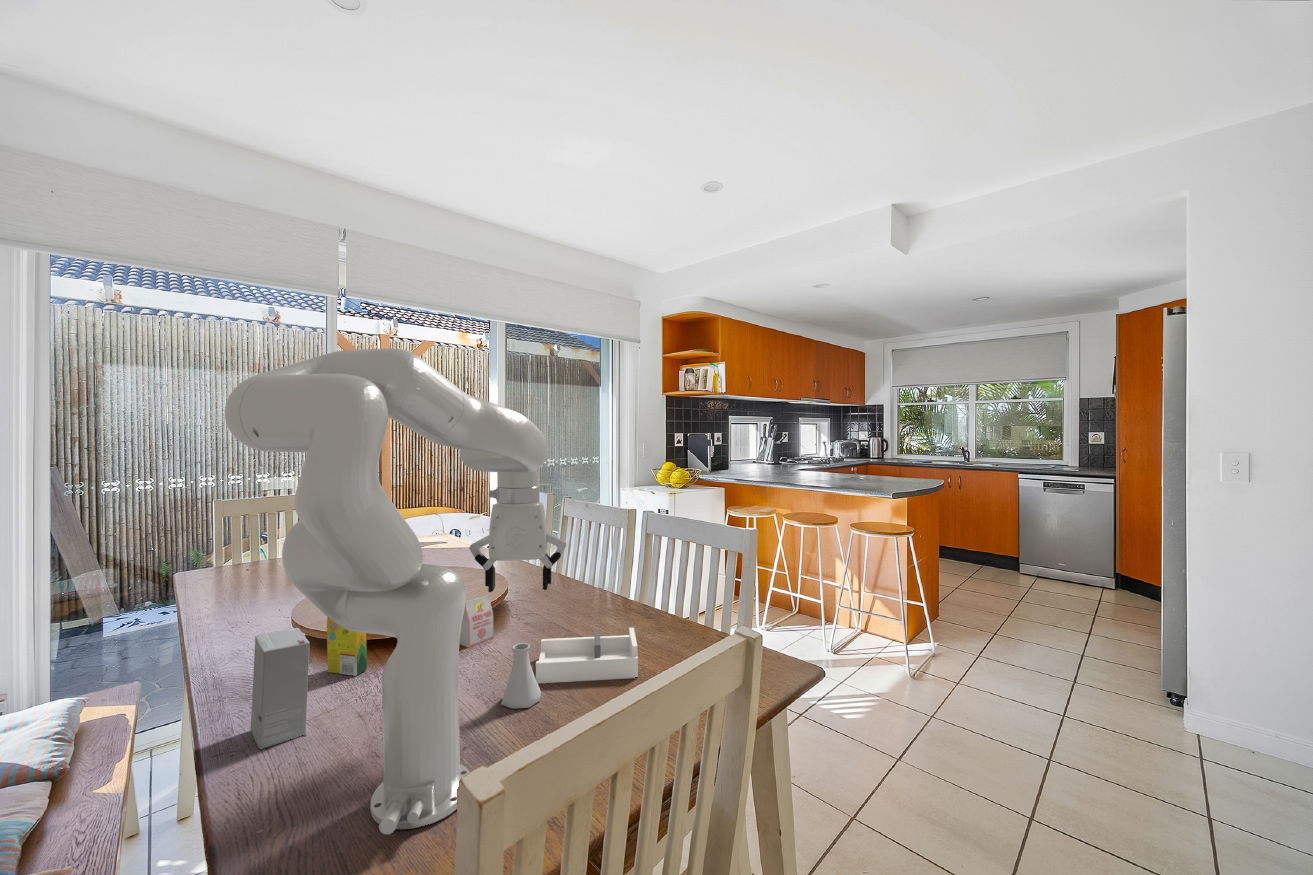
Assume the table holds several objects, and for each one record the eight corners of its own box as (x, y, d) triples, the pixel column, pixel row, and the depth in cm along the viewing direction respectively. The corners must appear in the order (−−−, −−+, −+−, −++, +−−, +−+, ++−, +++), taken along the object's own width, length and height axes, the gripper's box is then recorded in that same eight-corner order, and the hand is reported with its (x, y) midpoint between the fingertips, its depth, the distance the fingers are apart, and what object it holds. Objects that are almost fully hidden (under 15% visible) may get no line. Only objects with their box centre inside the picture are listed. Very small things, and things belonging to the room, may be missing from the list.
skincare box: (249, 730, 90) (248, 635, 89) (300, 714, 95) (299, 624, 94) (259, 752, 84) (257, 651, 83) (312, 733, 89) (310, 638, 88)
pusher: (600, 669, 109) (600, 644, 109) (594, 669, 109) (594, 645, 109) (599, 651, 118) (599, 628, 118) (594, 651, 118) (594, 629, 117)
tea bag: (458, 643, 125) (458, 600, 125) (484, 634, 131) (483, 593, 130) (468, 647, 123) (467, 604, 123) (493, 638, 128) (493, 596, 128)
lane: (637, 677, 108) (637, 648, 108) (535, 683, 106) (535, 653, 106) (633, 652, 120) (633, 625, 120) (541, 657, 118) (541, 629, 118)
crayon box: (367, 670, 112) (367, 614, 111) (356, 676, 109) (355, 619, 109) (338, 666, 114) (338, 611, 113) (326, 672, 111) (325, 615, 111)
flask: (531, 712, 96) (531, 656, 95) (493, 707, 97) (493, 652, 97) (547, 692, 103) (547, 640, 102) (512, 688, 104) (511, 637, 104)
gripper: (465, 499, 95) (465, 597, 95) (565, 498, 97) (565, 593, 97) (473, 494, 102) (474, 585, 102) (566, 493, 104) (566, 581, 105)
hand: (518, 588), depth 100 cm, fingers open, 9 cm apart
